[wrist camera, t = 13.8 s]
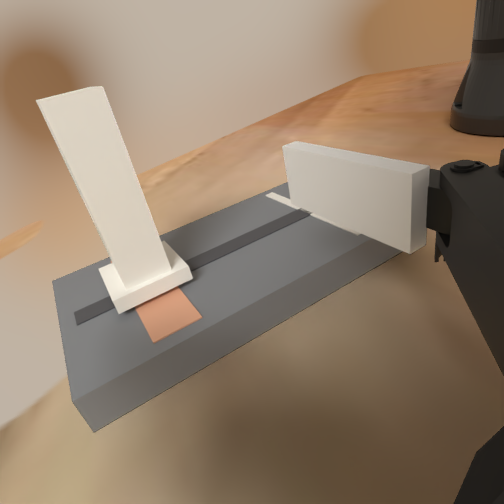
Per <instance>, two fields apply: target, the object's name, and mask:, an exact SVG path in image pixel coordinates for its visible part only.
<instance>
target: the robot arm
mask: <svg viewBox="0 0 504 504" xmlns="http://www.w3.org/2000/svg"><path fill="white" fill-rule="evenodd" d="M450 125H451V126H452V127H453V128H454V129H456V130H459V131H462V132H466V133H472V134H479V135H494V136H504V0H477V2H476V12H475V21H474V31H473V42H472V52H471V59H470V63H469V65H468V68H467V70H466V73H465V75H464V78H463V80H462V83H461V85H460V87H459V90H458V92H457V95H456V97H455V100H454V102H453V105H452V108H451V119H450ZM282 148H283V155H284V161H285V167H286V174H287V180H288V186H289V193H290V199H291V204H292V205H295V206H297V207H299V208H302V209H304V210H307V211H309V212H311V213H314V214H316V215H318V216H321V217H323V218H325V219H328V220H330V221H333V222H335V223H337V224H340V225H342V226H344V227H347V228H349V229H352V230H354V231H356V232H359V233H361V234H363V235H366V236H368V237H370V238H373V239H375V240H378V241H380V242H382V243H385V244H387V245H389V246H392V247H394V248H396V249H399V250H401V251H404V252H406V253H408V254H411V253H413V252H415V251H417V250H418V249H420V248H422V247H423V246H425V245H426V233H427V228H429V229H432V230H435V231H436V243H435V262H438V261H439V257H440V256H441V255H443V257H444V261H446V263H447V265H448V267H449V269H450V271H451V273H452V275H453V277H454V279H455V281H456V283H457V285H458V287H459V289H460V291H461V293H462V295H463V297H464V299H465V301H466V303H467V305H468V307H469V309H470V310H471V312H472V314H473V316H474V318H475V320H476V322H477V324H478V326H479V328H480V330H481V332H482V334H483V336H484V338H485V340H486V342H487V344H488V346H489V348H490V350H491V352H492V354H493V356H494V358H495V360H496V362H497V364H498V366H499V368H500V370H501V372H502V374H503V376H504V149H503V150H501V154H500V161H499V165H496V166H492V167H489V166H488V165H486V164H484V163H482V162H480V161H471V160H460V161H456V162H451V163H448V164H445V165H443V166H442V167H441V168H440V170H435V169H430V166H429V165H424V164H418V163H413V162H407V161H402V160H396V159H391V158H386V157H380V156H375V155H369V154H364V153H359V152H353V151H348V150H342V149H337V148H332V147H326V146H321V145H315V144H310V143H304V142H299V141H295V142H292V143H290V144H287V145H284V146H282ZM454 504H504V426H503V427H502V428H501V429H500V430H499V431H498V432H497V433H496V434H495V435H494V436H493V437H492V438H491V439H490V440H489V441H488V442H487V443H486V444H485V445H483V446H482V447H481V448H480V449H479V450H478V451H477V452H476V454H475V457H474V459H473V461H472V463H471V466H470V468H469V470H468V472H467V475H466V477H465V479H464V481H463V484H462V486H461V488H460V490H459V493H458V495H457V497H456V499H455V502H454Z"/></svg>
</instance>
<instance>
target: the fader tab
mask: <svg viewBox="0 0 504 504" xmlns="http://www.w3.org/2000/svg"><path fill="white" fill-rule="evenodd" d="M36 102H37V104H38V106H39V108H40V110H41V112H42V114H43V117H44V119H45V121H46V123H47V125H48V127H49V129H50V131H51V133H52V136H53V138H54V140H55V142H56V144H57V146H58V148H59V150H60V152H61V155H62V157H63V159H64V161H65V163H66V165H67V167H68V170H69V172H70V174H71V176H72V178H73V180H74V182H75V184H76V187H77V189H78V191H79V193H80V195H81V197H82V199H83V201H84V204H85V206H86V208H87V210H88V212H89V214H90V216H91V219H92V221H93V223H94V225H95V227H96V229H97V231H98V233H99V236H100V238H101V240H102V242H103V244H104V246H105V248H106V250H107V252H108V255H109V257H110V259H111V261H112V263H111V264H108V265H106V266H104V267H101V268H99V272H100V274H101V276H102V279H103V281H104V283H105V285H106V288H107V290H108V292H109V295H110V297H111V299H112V302H113V304H114V305H115V307H116V309H117V311H118V313H119V314H120V313H123V312H125V311H127V310H129V309H131V308H133V307H135V306H137V305H139V304H141V303H143V302H145V301H147V300H150V299H152V298H154V297H156V296H158V295H160V294H162V293H164V292H166V291H168V290H170V289H172V288H174V287H176V286H179V285H181V284H183V283H185V282H187V281H189V280H191V279H193V277H192V274H191V271H190V268H189V266H188V265H187V264H186V263H185V262H184V261H183V260H182V258H181V257H180V256H179V255H178V254H177V253H176V252H175V251H174V250H173V249H172V248H171V247H170V246H169V245H168V244H167V243H166V242H165V241H162V242H161V240H160V237H159V234H158V232H157V229H156V226H155V224H154V221H153V218H152V216H151V213H150V210H149V208H148V205H147V202H146V200H145V197H144V194H143V192H142V189H141V186H140V184H139V181H138V178H137V176H136V173H135V171H134V168H133V165H132V163H131V160H130V158H129V155H128V152H127V149H126V147H125V144H124V141H123V139H122V136H121V134H120V131H119V128H118V125H117V123H116V120H115V117H114V115H113V112H112V109H111V107H110V104H109V101H108V99H107V96H106V93H105V91H104V88H103V86H97V87H88V88H84V89H80V90H76V91H72V92H68V93H64V94H60V95H55V96H52V97H47V98H44V99H39V100H36Z"/></svg>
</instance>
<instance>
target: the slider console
mask: <svg viewBox="0 0 504 504" xmlns="http://www.w3.org/2000/svg"><path fill="white" fill-rule="evenodd" d="M159 237H160V240H161V242H162V241H165V242H166V243H167V244H168V245H169V246H170V247H171V248H172V249H173V250H174V251H175V252H176V253H177V254H178V255H179V256H180V257H181V258H182V260H183V261H184V262H185V263H186V264H187V265H188V266H189V268H190V271H191V274H192V277H193V279H191V280H189V281H187V282H185V283H183V284H181V285H179V286H176V287H174V288H172V289H170V290H168V291H166V292H164V293H162V294H160V295H158V296H156V297H154V298H152V299H150V300H147V301H145V302H143V303H141V304H139V305H137V306H135V307H133V308H131V309H129V310H127V311H125V312H123V313H120V314H119V313H118V311H117V309H116V307H115V305H114V304H113V302H112V299H111V297H110V295H109V292H108V290H107V288H106V285H105V283H104V281H103V279H102V276H101V274H100V272H99V268H101V267H104V266H106V265H108V264H111V263H112V261H111V259H110V257H108V258H106V259H104V260H101V261H99V262H97V263H95V264H92V265H90V266H87V267H85V268H82V269H80V270H78V271H75V272H73V273H71V274H68V275H66V276H63V277H61V278H59V279H56V280H54V281H52V283H53V289H54V294H55V301H56V306H57V313H58V319H59V325H60V331H61V337H62V342H63V349H64V355H65V361H66V367H67V374H68V380H69V386H70V392H71V398H72V402H73V404H74V405H75V406H76V408H77V409H78V411H79V412H80V414H81V415H82V416H83V418H84V419H85V421H86V422H87V424H88V425H89V426H90V428H91V429H92V431H93V432H95V431H97V430H99V429H101V428H102V427H104V426H106V425H107V424H109V423H111V422H113V421H114V420H116V419H118V418H119V417H121V416H123V415H124V414H126V413H128V412H130V411H131V410H133V409H135V408H136V407H138V406H140V405H142V404H143V403H145V402H147V401H148V400H150V399H152V398H153V397H155V396H157V395H159V394H160V393H162V392H164V391H165V390H167V389H169V388H171V387H172V386H174V385H176V384H177V383H179V382H181V381H182V380H184V379H186V378H188V377H189V376H191V375H193V374H194V373H196V372H198V371H199V370H201V369H203V368H205V367H206V366H208V365H210V364H211V363H213V362H215V361H217V360H218V359H220V358H222V357H223V356H225V355H227V354H228V353H230V352H232V351H234V350H235V349H237V348H239V347H240V346H242V345H244V344H246V343H247V342H249V341H251V340H252V339H254V338H256V337H257V336H259V335H261V334H263V333H264V332H266V331H268V330H269V329H271V328H273V327H275V326H276V325H278V324H280V323H281V322H283V321H285V320H286V319H288V318H290V317H292V316H293V315H295V314H297V313H298V312H300V311H302V310H304V309H305V308H307V307H309V306H310V305H312V304H314V303H315V302H317V301H319V300H321V299H322V298H324V297H326V296H327V295H329V294H331V293H333V292H334V291H336V290H338V289H339V288H341V287H343V286H344V285H346V284H348V283H350V282H351V281H353V280H355V279H356V278H358V277H360V276H362V275H363V274H365V273H367V272H368V271H370V270H372V269H373V268H375V267H377V266H379V265H380V264H382V263H384V262H385V261H387V260H389V259H391V258H392V257H394V256H396V255H397V254H399V253H401V252H402V251H401V250H399V249H396V248H394V247H392V246H389V245H387V244H385V243H382V242H380V241H378V240H375V239H373V238H370V237H368V236H366V235H363V234H361V233H359V232H356V231H354V230H352V229H349V228H347V227H344V226H342V225H340V224H337V223H335V222H333V221H330V220H328V219H325V218H323V217H321V216H318V215H316V214H314V213H311V212H309V211H307V210H304V209H302V208H299V207H297V206H295V205H292V204H291V199H290V193H289V186H288V182H287V183H284V184H282V185H280V186H277V187H275V188H272V189H270V190H268V191H265V192H263V193H260V194H258V195H256V196H253V197H251V198H249V199H246V200H244V201H241V202H239V203H237V204H234V205H232V206H230V207H227V208H225V209H222V210H220V211H218V212H215V213H213V214H211V215H208V216H206V217H203V218H201V219H199V220H196V221H194V222H192V223H189V224H187V225H184V226H182V227H180V228H177V229H175V230H173V231H170V232H168V233H165V234H163V235H161V236H159Z"/></svg>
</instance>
